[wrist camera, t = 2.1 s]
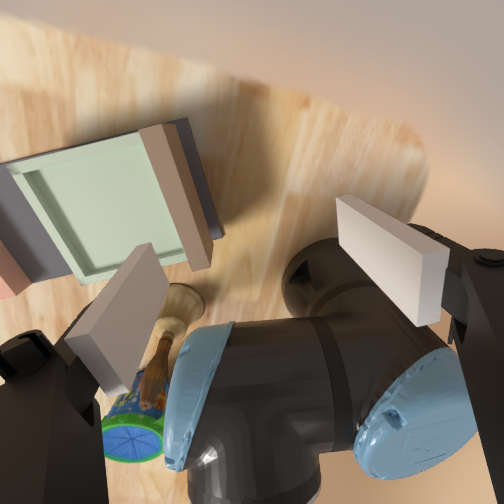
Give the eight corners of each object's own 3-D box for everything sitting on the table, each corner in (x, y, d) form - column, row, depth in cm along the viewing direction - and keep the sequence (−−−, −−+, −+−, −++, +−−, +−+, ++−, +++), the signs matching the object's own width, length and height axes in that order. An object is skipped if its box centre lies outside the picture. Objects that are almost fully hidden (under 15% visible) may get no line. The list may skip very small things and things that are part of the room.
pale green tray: (179, 124, 29) (161, 123, 21) (214, 237, 35) (210, 267, 27) (42, 158, 29) (-23, 170, 21) (101, 263, 35) (66, 301, 28)
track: (187, 117, 29) (182, 116, 26) (222, 236, 36) (222, 247, 33) (-68, 181, 30) (-102, 187, 27) (13, 286, 36) (-6, 301, 33)
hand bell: (178, 334, 43) (153, 439, 28) (137, 305, 39) (86, 407, 25) (214, 306, 41) (207, 403, 26) (174, 273, 38) (141, 363, 23)
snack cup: (130, 412, 50) (108, 476, 41) (94, 381, 46) (60, 444, 37) (201, 386, 49) (194, 446, 39) (171, 350, 44) (156, 408, 35)
